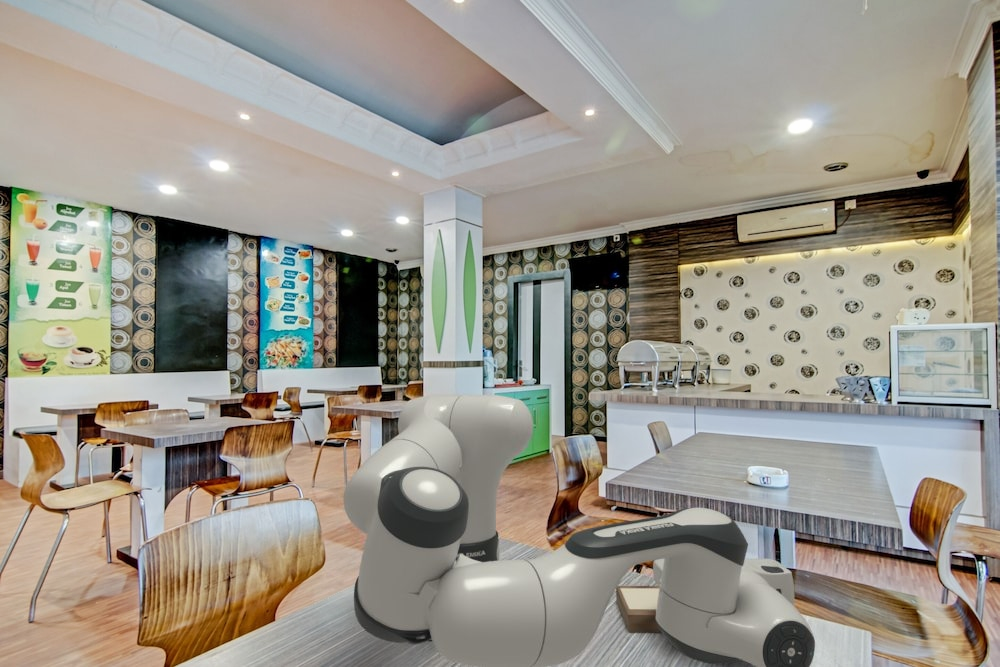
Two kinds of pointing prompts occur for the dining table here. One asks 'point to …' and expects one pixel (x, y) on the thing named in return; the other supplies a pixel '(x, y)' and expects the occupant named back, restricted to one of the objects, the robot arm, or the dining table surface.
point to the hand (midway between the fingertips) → (702, 558)
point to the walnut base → (638, 607)
